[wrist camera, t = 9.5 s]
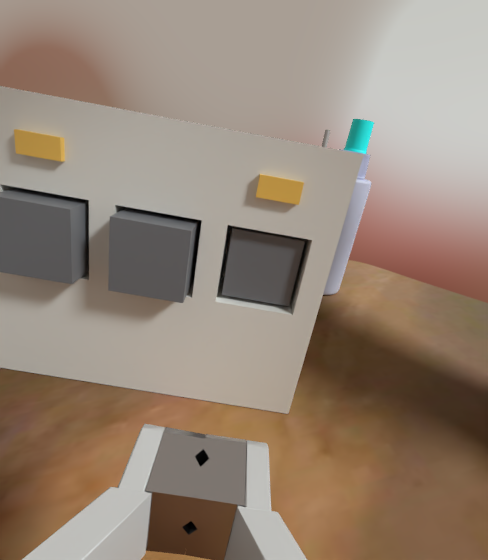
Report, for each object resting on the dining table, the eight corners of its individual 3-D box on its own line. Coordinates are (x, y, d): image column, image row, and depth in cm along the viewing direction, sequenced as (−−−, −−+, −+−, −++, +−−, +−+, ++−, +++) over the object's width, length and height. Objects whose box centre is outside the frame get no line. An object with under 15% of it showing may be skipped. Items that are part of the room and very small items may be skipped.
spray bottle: (298, 274, 52) (338, 119, 44) (337, 284, 51) (385, 127, 43) (294, 289, 47) (338, 113, 38) (338, 300, 46) (393, 123, 37)
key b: (284, 283, 25) (298, 226, 24) (288, 306, 22) (304, 241, 20) (226, 273, 25) (236, 215, 24) (221, 294, 22) (232, 228, 20)
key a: (99, 262, 23) (99, 198, 21) (72, 284, 20) (70, 209, 18) (34, 251, 23) (29, 185, 21) (-5, 271, 20) (-14, 194, 18)
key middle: (193, 279, 23) (201, 216, 22) (183, 303, 20) (191, 230, 18) (130, 268, 23) (133, 204, 22) (108, 290, 20) (109, 216, 18)
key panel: (280, 345, 33) (329, 149, 26) (288, 418, 24) (366, 155, 18) (63, 308, 32) (56, 98, 26) (-7, 370, 24) (-47, 77, 17)
